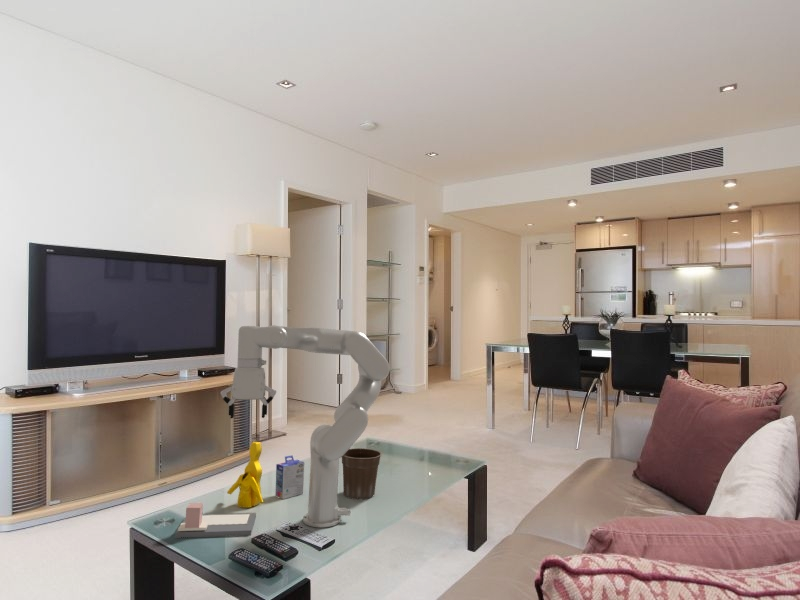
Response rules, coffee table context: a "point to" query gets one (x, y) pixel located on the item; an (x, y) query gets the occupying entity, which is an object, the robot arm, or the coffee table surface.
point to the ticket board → (223, 526)
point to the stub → (193, 518)
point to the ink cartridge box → (289, 478)
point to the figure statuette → (250, 480)
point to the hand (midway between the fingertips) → (247, 417)
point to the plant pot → (360, 472)
